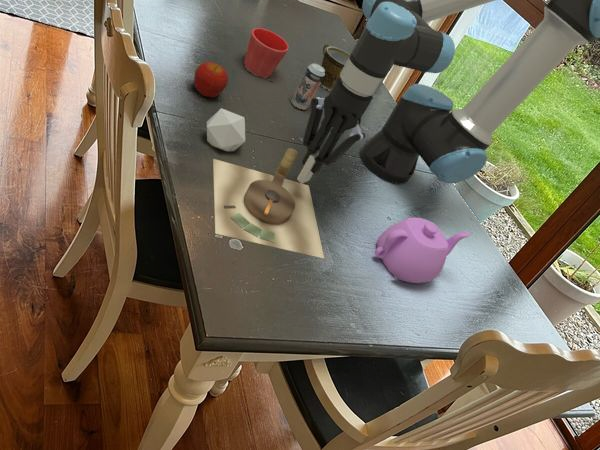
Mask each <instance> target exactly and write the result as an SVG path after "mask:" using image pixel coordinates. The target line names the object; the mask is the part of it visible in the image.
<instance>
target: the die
mask: <svg viewBox="0 0 600 450" xmlns="http://www.w3.org/2000/svg"><path fill="white" fill-rule="evenodd" d="M206 142H207V143H209V144H210V145H211V146H212V147H214V148H216V149H219V150H222V151H224V152H235V151H236V150H237V149H238V148H239V147H240V146H242V145H243V144H244V143H246V119H245V117H244V116H242V115H239V114H238V113H234V112H233V111H229V110H227V109H224V108H221V107H220V108H219V110H218V111H216V113H215V114H213V115H212V116H211V117H210V118H209V119H208V120H207V121H206Z"/></svg>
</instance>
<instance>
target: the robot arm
mask: <svg viewBox="0 0 600 450" xmlns="http://www.w3.org/2000/svg"><path fill="white" fill-rule="evenodd" d="M494 1H496V0H363V1H362V6H361V9H362V13H363V15H364V17H365V18H366V19H367V21H366V24H365V27H364V29H363V31H362V32H361V33H360V36H359V38H358V40H357V42H356V44H355V46H354V48H353V50H352V52H350V57H349V59H348V60H347V62H346V64H345V66H344V67H343V69H342V71H341V73H340V77H338V79H337V80H336V82H335V84H334V86H333V88H332V90H331V91H330V92H329V94H328V95H327V96H325V97H322V96H317V97H313V98H312V100H311V102H310V107H311V110H310V113H309V118H308V121H307V123H306V124H307V125H306V129H305V132H304V136H303V139H302V145H303V146H305V147H306V149H307V152H306V154H305V155H304V157H303V159H302V163H301V164H302V165H303V167H302V169H301V171H300V172H299V174H298V176H297V178H296V180H298V181H297V182H298V183H302V184H304V183H306V182H308V181H310V180H311V178H312V176H313V175H314V174H317V173H319V172H320V171H321V169H322V168H323V166H324V164H325V165H326V166H329V165H332V164H334V163H336V162H337V161H338V160H339V159H340V158H341V157H342V156H343V155H344V154H346V152H348V150H349V149H351V147H352V146H353V145H355V143H357V142H358V141H361V140H364V139H365V138H366V134H365V132H362V130H361V128H360V125H361V122H362V117H363V115H364V113H365V112H366V110H367V109H368V107H369V105H370V103H371V102H372V100H373V97H374V96H375V95H376V93H377V92H378V90H379V88H380V87H381V85H382V83H383V81H384V80H385V79H386V77H387V76H388V74H389V73H390V71H391V69H392V67H393V66H396V67H403V68H406V69H409V70H415V71H420V72H421V73H429V74H440V73H442V72H443V71H445V70H446V69H448V67H449V66H450V65H451V63H452V62H453V60H454V57H455V50H456V47H455V45H456V44H455V43H454V40H453V38H452V36H450V35H449V34H447V33H445V32H443V31H441V30H435V29H433V28H432V27H431V26H430V25H429V24H428V23H429V22H432V21H435V20H436V21H437V20H439V19H443V18H444V17H447V16H452V15H454V14H457V13H461V12H464V11H466V10H467V11H468V10H470V9H472V8H473V9H474V8H476V7H478V6H482V5H485V4H489V3H490V2H494ZM543 8H544V13H543V15H544V17H543V20H542V21H541V22H540V23H539V24H538V25H537V26H536V27H535V28H534V30H532V31H531V33H530V34H529V35H528V36H527V37H526V38H525V39H524V41H522V43H521V44H520V45H519V46H518V47H517V48H516V50H514V52H513V53H512V54H511V55H510V56H509V57H508V58H507V59H506V61H505V62H504V63H503V64H502V65H501V66H500V67H499V68H498V69H497V70H496V71H495V73H494V74H493V75H492V76H491V77H490V78H489V79H488V80H487V82H485V83H484V84H483V86H482V87H481V88H480V89H479V90H478V92H476V93H475V95H474V96H473V97H472V98H471V99H470V100H469V101H468V103H466V104H465V106H464V107H463V108H456V109H453V108H454V102H453V100H452V99H451V98H449V96H447V95H446V94H445V93H443V92H441V91H439V90H437V89H436V88H434V87H431V86H428V85H425V84H423V83H422V84H421V83H414V84H411V85H410V86H409V87H408V88H407V89H406V90H405V92H404V93H403V95H401V97H400V99H399V101H398V102H397V103H396V105H395V107H394V108H393V110H392V112H391V113H390V115H389V117H388V118H387V120H386V121H385V122H384V125H383V126H382V127H381V129H380V130H379V131H377V133H375V134H374V135H372V137H370V138H369V139H368V140H366V142H364V143H363V145H362V147H361V148H360V149H359V156H360V159H361V161H362V162H363V164H364V165H365V166H366V167H367V168H368V170H370V171H371V172H372V173H373V174H374V175H376V176H378V177H379V178H380V179H382V180H385V181H387V182H389V183H392V184H396V185H405V184H408V182H409V181H410V180H411V178H412V177H413V176H414V173H415V171H416V167H417V164H418V161H419V157H420V158H421V159H422V160H423V162H424V163H425V164H426V166H427V167H428V169H429V171H430V172H431V173H432V174H433V175H435V176H436V178H437V179H438V180H439V181H441V183H445V184H448V185H449V184H450V185H451V184H458V183H461V182H464V181H467V180H469V179H470V178H473V177H474V176H476V174H478V173H479V172H480V171H482V169H483V168H484V167H485V165H486V162H487V161H488V156H487V152H486V150H488V149H489V147H490V146H491V145H492V142H493V141H492V136H493V133H494V132H495V131H496V130H497V129H498V128H499V127H500V126H501V125H502V123H504V122H505V120H506V119H508V118H509V116H511V114H512V113H513V112H514V111H515V110H516V109H517V108H518V107H519V106H520V105H521V104H522V103H523V102H524V101H525V100H526V99H527V98H528V97H529V96H530V95H531V94H532V93H533V92H534V90H535V89H537V87H538V86H539V85H540V84H541V83H542V82H543V81H544V80H545V79H546V78H547V77H548V76H549V74H551V73H552V72H553V71H554V70H555V69H556V67H558V66H559V64H560V63H561V62H562V61H563V60H564V59H565V58H566V57H567V56H568V55H569V54H570V53H571V52H572V51H573V50H574V49H575V48H576V47H577V46H583V45H589V44H590V43H591V42H592V41H593V39H595V38H597V39H598V38H600V0H550V1H549V2H548V3H547V4H546V5H545V6H544V7H543ZM323 112H324V116H323ZM322 116H323V119H322ZM349 130H352V131H350V132H349V136H348V137H347V138H345V140H343V141H342V142H341V144H339V146H337V147H336V145H337V143H338V142H339V140H340V138H341V137H342V135H343V134H344V133H345V132H346V131H349ZM335 147H336V148H335ZM334 148H335V149H334Z"/></svg>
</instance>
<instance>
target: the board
mask: <svg viewBox="0 0 600 450" xmlns="http://www.w3.org/2000/svg"><path fill="white" fill-rule="evenodd" d="M212 163H213V164H212V165H213V167H212V168H213V170H212V171H213V198H214V199H213V201H214V203H213V204H214V232H215V235H219V236H225V237H229V238H233V239H237V240H242V241H246V242H250V243H253V244H254V243H255V244H259V245H264V246H267V247H270V248H271V247H272V248H275V249H280V250H285V251H290V252H292V253H293V252H295V253H296V254H297V253H299V254H303V255H308V256H312V257H316V258H320V259H323V260H325V256H324V252H323V247H322V242H321V238H320V237H321V236H320V233H319V228H318V223H317V217H316V213H315V209H314V204H313V199H312V194H311V190H310V186H309V185H308V184H304V183H300V182H299V181H294V180H291V179H287V178H285V179H284V181H283V184H282V187H283V188H285V189H286V190H287V191H288V192H289V193H290V194H291V195H292V197H293V199H294V201H295V209H294V211H293V213H292V215H291V216H290V218H289V220H288V221H286V222H285V223H282V224H271V223H267V222H265V221H262V220H260V219H259V218H257V217H256V216H254V215H253V214H252V213H251V212H250V211H249V210H248V208H247V207H246V205H245V202H244V196H245V193H246V191H247V189H248V187H249V186H250V184H251V183H252V182H254V181H257V180H267V181H271V182H272V181H273V178H274V174H273V175H272V174H269V173H265V172H261V171H259V170H255V169H252V168H247V167H244V166H240V165H237V164H233V163H230V162H227V161H222V160H219V159H215V158H213V159H212Z"/></svg>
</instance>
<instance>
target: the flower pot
mask: <svg viewBox="0 0 600 450" xmlns="http://www.w3.org/2000/svg"><path fill="white" fill-rule="evenodd" d="M246 48H247V50H246V54H245V58H244V62H243V65H244V64H245V66H246V68H247V69H248V70H249V71H251V72H252V73H254V74H256V75H258V76H261V77H267V78H269V77H270V76H271V75H272V74H273V72H274V70H276V68H277V67H278V66H279V64H280V63H281V61H282V60H283V59H284V57H285V55H286V54H287V52H288V51H289V48H290V47H289V44H288V42H287V41H286V40H285V39H284V38H283V37H281V36H280V35H278V34H276V33H275V32H273V31H271V30H268V29H266V28H263V27H262V28H260V27H257V28H255V27H254V29H252V31H251V34H250V38H249V41H248V45H247V47H246ZM245 66H244V67H245ZM246 68H245V69H246ZM247 69H246V70H247ZM248 70H247V71H248ZM249 71H248V72H249ZM252 73H251V74H252ZM258 76H257V77H258ZM261 77H260V78H261Z"/></svg>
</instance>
